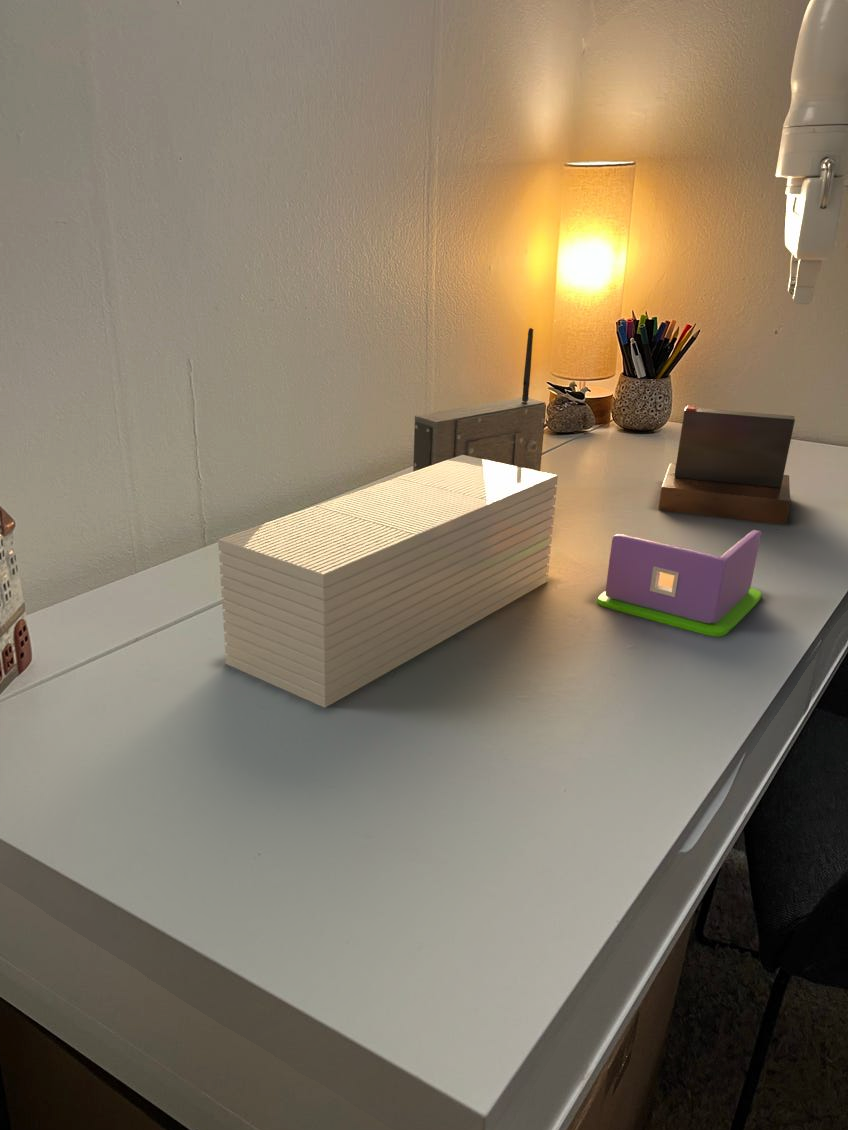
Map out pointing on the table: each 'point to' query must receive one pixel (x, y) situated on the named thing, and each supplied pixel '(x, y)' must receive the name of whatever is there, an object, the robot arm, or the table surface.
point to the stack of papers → (382, 573)
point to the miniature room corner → (682, 583)
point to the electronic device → (485, 430)
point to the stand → (725, 498)
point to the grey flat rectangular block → (734, 446)
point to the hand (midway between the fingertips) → (798, 298)
